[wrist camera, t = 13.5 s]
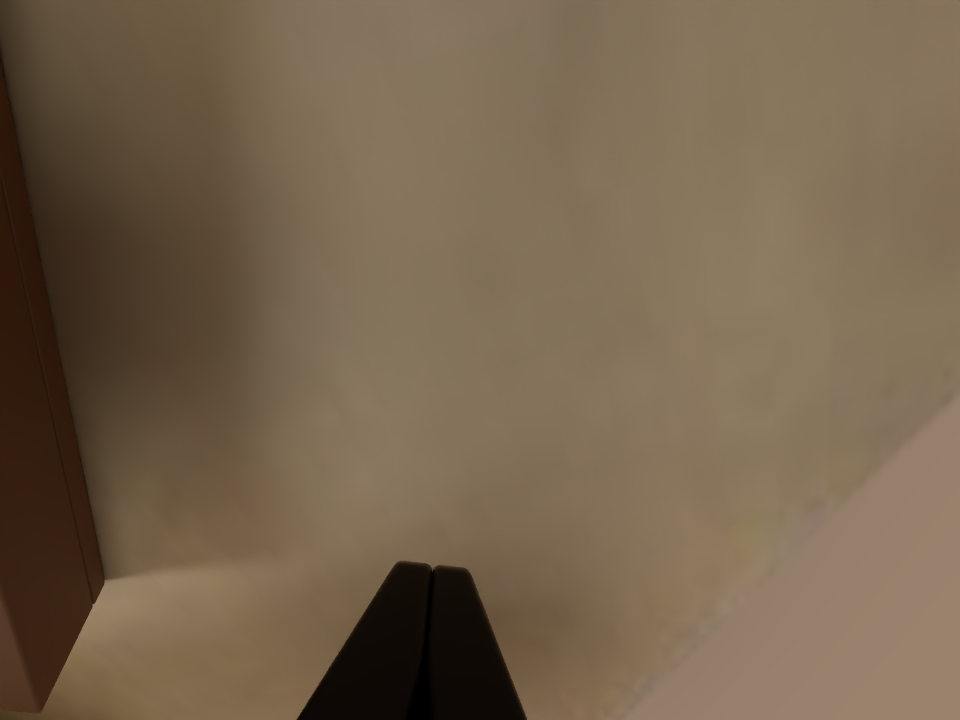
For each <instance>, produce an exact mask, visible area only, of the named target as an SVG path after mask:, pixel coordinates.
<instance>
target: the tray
mask: <svg viewBox="0 0 960 720" xmlns="http://www.w3.org/2000/svg"><path fill="white" fill-rule="evenodd" d="M103 585H104V577H103V572H102V567H101V562H100V557H99V552H98V547H97V542H96V537H95V532H94V527H93V522H92V517H91V512H90V507H89V502H88V497H87V492H86V487H85V482H84V477H83V472H82V467H81V462H80V457H79V452H78V447H77V442H76V437H75V432H74V427H73V422H72V417H71V412H70V407H69V402H68V397H67V392H66V387H65V382H64V377H63V372H62V367H61V362H60V357H59V352H58V347H57V342H56V337H55V332H54V327H53V322H52V317H51V312H50V307H49V302H48V297H47V292H46V287H45V282H44V277H43V272H42V267H41V262H40V257H39V252H38V247H37V242H36V237H35V232H34V227H33V222H32V217H31V212H30V207H29V202H28V197H27V192H26V187H25V182H24V177H23V172H22V167H21V162H20V157H19V152H18V147H17V142H16V137H15V132H14V127H13V122H12V117H11V112H10V107H9V102H8V97H7V92H6V87H5V82H4V77H3V72H2V67H1V62H0V709H2V710H10V711H20V712H29V713H40V712H41V711H42V709H43V707H44V705H45V703H46V701H47V699H48V697H49V695H50V693H51V691H52V689H53V687H54V685H55V683H56V681H57V679H58V676H59V674H60V672H61V670H62V668H63V666H64V664H65V662H66V660H67V658H68V656H69V654H70V652H71V650H72V648H73V646H74V644H75V642H76V640H77V638H78V635H79V633H80V631H81V629H82V627H83V625H84V623H85V621H86V619H87V617H88V615H89V613H90V611H91V609H92V607H93V604H94V603H95V602H96V600H97V598H98V596H99V594H100V592H101V590H102V587H103Z"/></svg>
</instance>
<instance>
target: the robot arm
mask: <svg viewBox="0 0 960 720" xmlns="http://www.w3.org/2000/svg"><path fill="white" fill-rule="evenodd" d="M297 720H527V718H526V715H525V712H524V710H523V707H522V705H521V702H520V700H519V697H518V694H517V692H516V689H515V687H514V684H513V681H512V679H511V676H510V674H509V671H508V668H507V666H506V663H505V661H504V658H503V656H502V653H501V650H500V648H499V645H498V643H497V640H496V637H495V635H494V632H493V630H492V627H491V625H490V622H489V619H488V617H487V614H486V612H485V609H484V606H483V604H482V601H481V599H480V596H479V593H478V591H477V588H476V586H475V583H474V581H473V578H472V576H471V574H470V572H469V571H468V570H467V569H466V568H462V567H453V566H444V565H437V566H435V567H434V568H433V571H432V568H431V566H430V565H429V564H426V563H419V562H410V561H399V562H397V563H396V564H395V565H394V566H393V568H392V569H391V571H390V572H389V574H388V576H387V577H386V579H385V580H384V582H383V584H382V585H381V587H380V588H379V590H378V591H377V593H376V595H375V596H374V598H373V599H372V601H371V603H370V604H369V606H368V607H367V609H366V610H365V612H364V614H363V615H362V617H361V618H360V620H359V622H358V623H357V625H356V626H355V628H354V629H353V631H352V633H351V634H350V636H349V637H348V639H347V641H346V642H345V644H344V645H343V647H342V648H341V650H340V652H339V653H338V655H337V656H336V658H335V660H334V661H333V663H332V664H331V666H330V667H329V669H328V671H327V672H326V674H325V675H324V677H323V679H322V680H321V682H320V683H319V685H318V686H317V688H316V690H315V691H314V693H313V694H312V696H311V698H310V699H309V701H308V702H307V704H306V705H305V707H304V709H303V710H302V712H301V713H300V715H299V717H298V718H297Z"/></svg>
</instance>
